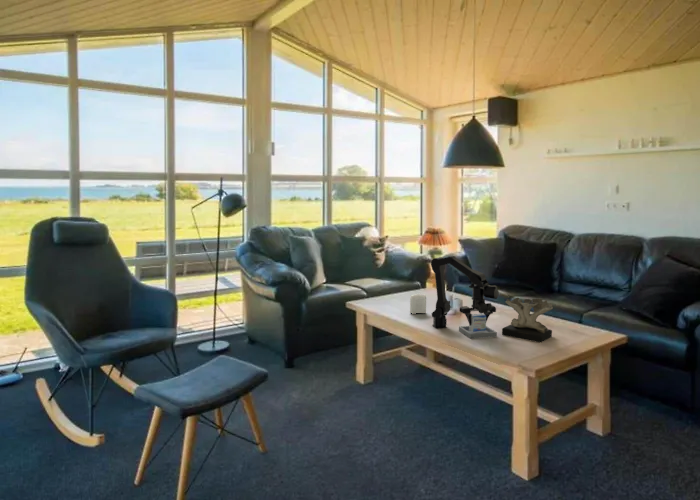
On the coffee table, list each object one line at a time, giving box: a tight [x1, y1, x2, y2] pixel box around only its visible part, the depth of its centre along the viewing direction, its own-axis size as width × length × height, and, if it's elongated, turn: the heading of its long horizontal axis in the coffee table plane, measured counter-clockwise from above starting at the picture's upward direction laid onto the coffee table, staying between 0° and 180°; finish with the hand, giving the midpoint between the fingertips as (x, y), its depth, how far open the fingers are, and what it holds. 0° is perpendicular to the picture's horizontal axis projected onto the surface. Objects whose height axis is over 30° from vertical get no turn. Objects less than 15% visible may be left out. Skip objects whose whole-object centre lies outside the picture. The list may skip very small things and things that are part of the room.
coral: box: [501, 297, 554, 343], centre depth 268 cm, size 25×20×22 cm
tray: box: [458, 325, 498, 340], centre depth 278 cm, size 15×15×2 cm
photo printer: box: [409, 293, 427, 315], centre depth 322 cm, size 10×4×12 cm, turn 98°
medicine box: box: [468, 313, 487, 332], centre depth 277 cm, size 8×4×9 cm, turn 105°
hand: (477, 324), depth 277 cm, fingers closed on medicine box, 8 cm apart
